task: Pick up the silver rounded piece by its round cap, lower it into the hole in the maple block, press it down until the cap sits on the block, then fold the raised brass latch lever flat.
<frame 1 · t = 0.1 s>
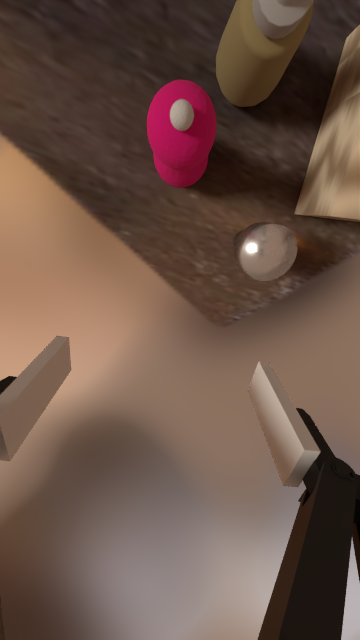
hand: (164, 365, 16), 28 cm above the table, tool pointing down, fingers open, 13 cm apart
pepper mill: (180, 162, 34), on the table
squeeze bottle: (242, 78, 30), on the table
silver rounded piece: (244, 241, 39), on the table
maple block: (350, 142, 33), on the table
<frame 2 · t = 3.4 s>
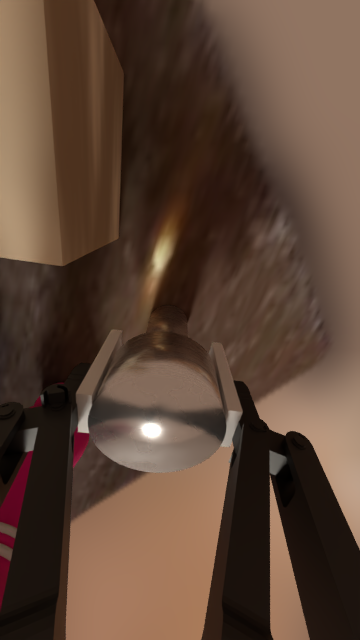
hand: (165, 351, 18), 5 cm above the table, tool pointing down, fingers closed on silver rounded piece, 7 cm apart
pepper mill: (70, 401, 27), on the table
silver rounded piece: (168, 322, 22), on the table, touching gripper
when the fingers open (12 cm above the table, at t = 9.8 s): silver rounded piece drops 5 cm, resting on maple block.
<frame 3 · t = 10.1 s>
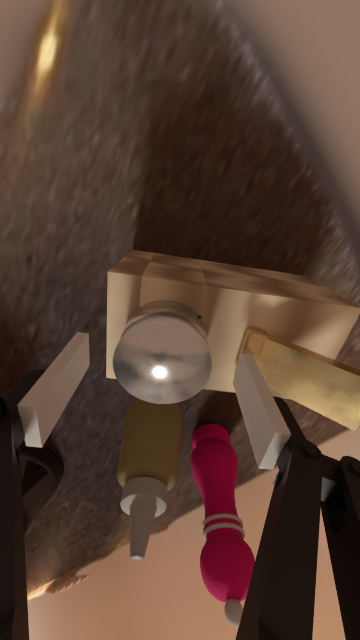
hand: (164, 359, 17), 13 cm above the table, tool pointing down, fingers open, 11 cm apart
brass latch: (297, 376, 17), point 13 cm above the table, hinge at 35.0°
pepper mill: (210, 434, 40), on the table
squeeze bottle: (156, 398, 36), on the table
silver rounded piece: (169, 302, 27), point 2 cm above the table, touching maple block
maple block: (210, 302, 29), on the table
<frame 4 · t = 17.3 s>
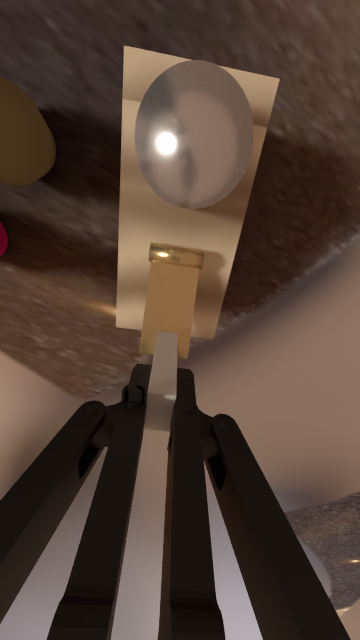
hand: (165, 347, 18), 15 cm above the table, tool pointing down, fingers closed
brass latch: (170, 301, 19), point 13 cm above the table, hinge at 27.6°, touching gripper
squeeze bottle: (29, 145, 25), on the table
silver rounded piece: (187, 169, 24), point 2 cm above the table, touching maple block
maple block: (179, 221, 28), on the table
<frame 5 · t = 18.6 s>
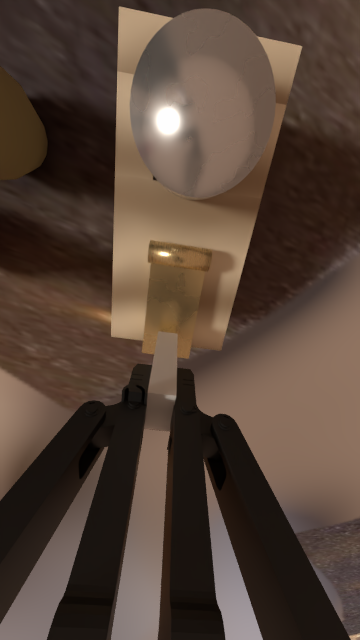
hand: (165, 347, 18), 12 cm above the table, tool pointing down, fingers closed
brass latch: (172, 304, 18), point 11 cm above the table, hinge at 2.7°
squeeze bottle: (19, 137, 23), on the table
silver rounded piece: (191, 162, 22), point 2 cm above the table, touching maple block
maple block: (182, 220, 26), on the table
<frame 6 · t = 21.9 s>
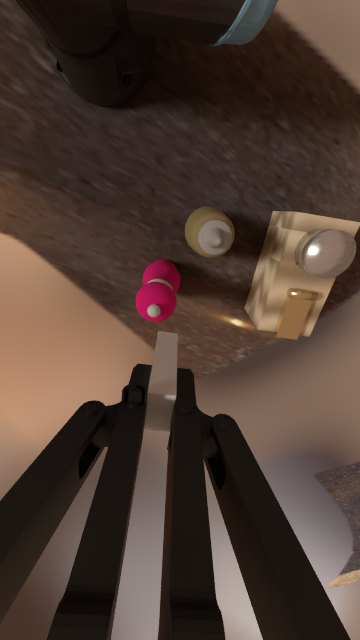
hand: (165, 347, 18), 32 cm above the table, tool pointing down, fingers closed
brass latch: (294, 314, 40), point 11 cm above the table, hinge at 2.3°
pepper mill: (163, 274, 49), on the table
squeeze bottle: (205, 229, 45), on the table
silver rounded piece: (294, 243, 44), point 2 cm above the table, touching maple block
maple block: (280, 267, 48), on the table
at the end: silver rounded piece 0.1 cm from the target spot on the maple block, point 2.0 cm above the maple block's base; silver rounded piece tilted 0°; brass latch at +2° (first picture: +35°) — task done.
